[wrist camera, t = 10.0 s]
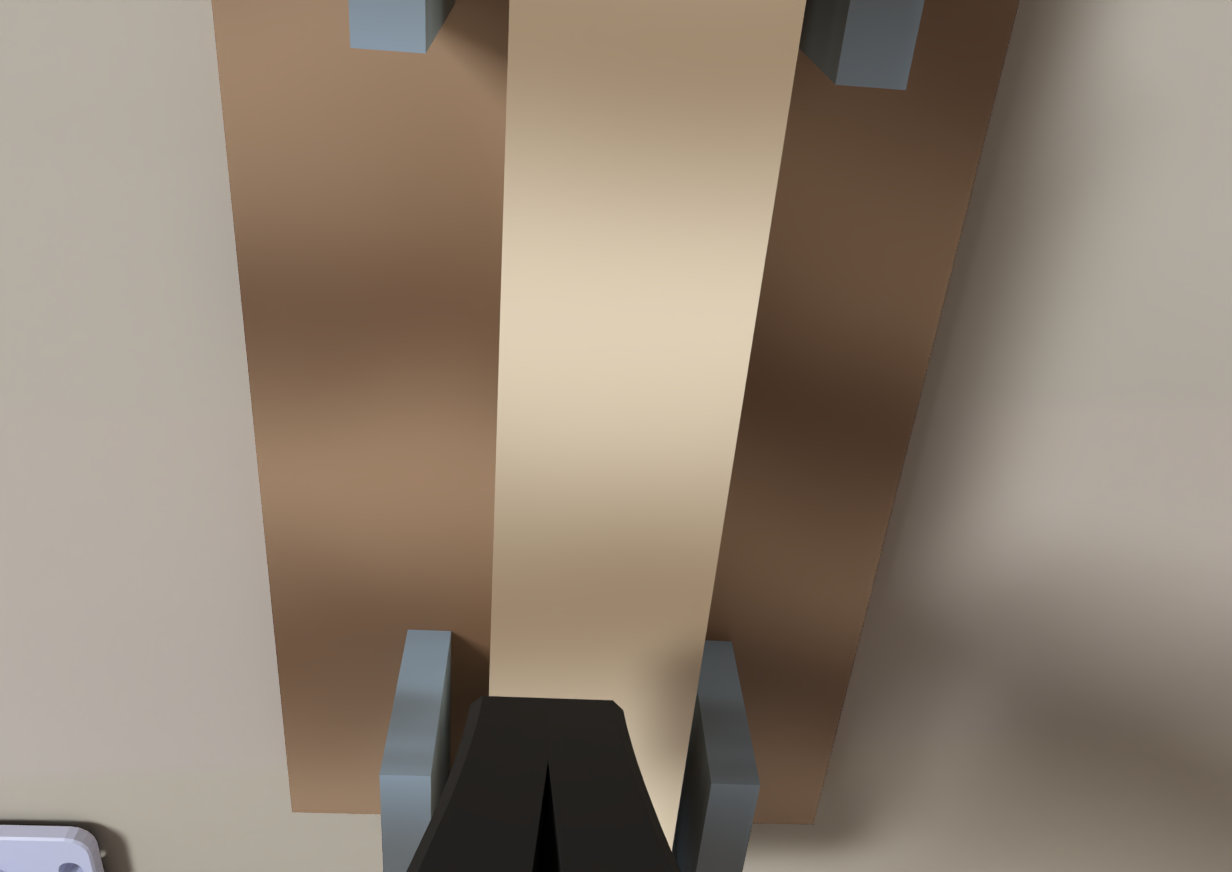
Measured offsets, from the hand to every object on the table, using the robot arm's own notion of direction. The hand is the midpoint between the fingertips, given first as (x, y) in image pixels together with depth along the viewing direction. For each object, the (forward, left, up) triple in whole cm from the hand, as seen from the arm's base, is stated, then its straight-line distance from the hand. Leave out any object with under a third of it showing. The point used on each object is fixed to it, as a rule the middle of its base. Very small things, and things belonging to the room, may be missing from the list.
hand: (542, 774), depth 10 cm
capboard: (0, -1, -9) cm, 9 cm away
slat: (0, -1, -8) cm, 8 cm away
